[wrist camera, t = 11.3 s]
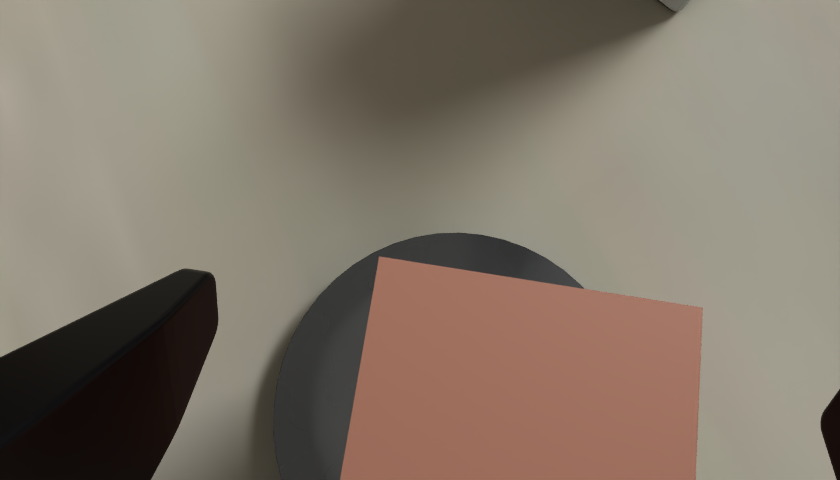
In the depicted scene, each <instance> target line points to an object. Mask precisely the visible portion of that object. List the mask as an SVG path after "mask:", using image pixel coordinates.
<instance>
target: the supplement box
mask: <svg viewBox="0 0 840 480" xmlns="http://www.w3.org/2000/svg"><path fill="white" fill-rule="evenodd" d="M659 1H660V2H662V3H663V4H665V5H666V6H667V7H668V8H670V9H671V10H673V11H680V10H682V9H683V8H684V7H685V6H686V4H687V3H688V2H689V1H690V0H659Z"/></svg>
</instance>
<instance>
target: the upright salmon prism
mask: <svg viewBox="0 0 840 480" xmlns="http://www.w3.org/2000/svg"><path fill="white" fill-rule="evenodd" d="M702 313H703V308H701V307H695V306H688V305H682V304H676V303H670V302H663V301H657V300H651V299H644V298H638V297H632V296H625V295H619V294H613V293H607V292H600V291H594V290H588V289H581V288H575V287H569V286H562V285H556V284H550V283H544V282H537V281H531V280H525V279H518V278H512V277H506V276H499V275H493V274H487V273H481V272H474V271H468V270H462V269H455V268H449V267H443V266H436V265H430V264H424V263H417V262H411V261H405V260H399V259H392V258H386V257H380V256H379V261H378V266H377V272H376V278H375V283H374V289H373V295H372V300H371V306H370V312H369V318H368V323H367V329H366V335H365V340H364V346H363V352H362V357H361V363H360V369H359V374H358V380H357V386H356V392H355V397H354V403H353V409H352V414H351V420H350V426H349V431H348V437H347V443H346V448H345V454H344V460H343V466H342V471H341V477H340V480H696V456H697V432H698V408H699V385H700V361H701V337H702Z"/></svg>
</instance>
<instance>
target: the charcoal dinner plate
mask: <svg viewBox="0 0 840 480" xmlns="http://www.w3.org/2000/svg"><path fill="white" fill-rule="evenodd" d="M379 256H380V257H386V258H392V259H399V260H405V261H411V262H417V263H424V264H430V265H436V266H443V267H449V268H455V269H462V270H468V271H474V272H481V273H487V274H493V275H499V276H506V277H512V278H518V279H525V280H531V281H537V282H544V283H550V284H556V285H562V286H569V287H575V288H581V289H584V288H583V287H582V286H581V285H580V284H579V283H578V282H577V281H576V280H575V279H573V278H572V277H571V276H570V275H569V274H568V273H566V272H565V271H564V270H563V269H561V268H560V267H558V266H557V265H555V264H554V263H552V262H551V261H549V260H548V259H546V258H545V257H543V256H541V255H539V254H537V253H535V252H533V251H531V250H529V249H527V248H525V247H522V246H520V245H517V244H514V243H511V242H509V241H506V240H503V239H498V238H494V237H489V236H485V235H478V234H467V233H440V234H432V235H426V236H420V237H414V238H411V239H408V240H404V241H401V242H397V243H394V244H392V245H389V246H387V247H385V248H383V249H380V250H378V251H376V252H374V253H372V254H370V255H369V256H367V257H365V258H364V259H362V260H360V261H359V262H357V263H355V264H354V265H352V266H351V267H350V268H349V269H347V270H346V271H345V272H344V273H342V274H341V275H340V276H339V277H337V278H336V279H335V280H334V281H333V282H332V283H331V284H330V285H329V286H328V287H327V288H326V289H325V290H324V291H323V292H322V294H321V295H320V296H319V297H318V298H317V300H316V301H315V302H314V304H313V305H312V306H311V308H310V309H309V310H308V312H307V313H306V314H305V316H304V318H303V319H302V321H301V323H300V325H299V326H298V328H297V330H296V332H295V333H294V335H293V337H292V340H291V342H290V345H289V347H288V349H287V352H286V354H285V357H284V360H283V363H282V367H281V371H280V374H279V378H278V382H277V388H276V395H275V403H274V441H275V449H276V458H277V462H278V466H279V470H280V474H281V478H282V480H340V477H341V471H342V466H343V460H344V454H345V448H346V443H347V437H348V431H349V426H350V420H351V414H352V409H353V403H354V397H355V392H356V386H357V380H358V374H359V369H360V363H361V357H362V352H363V346H364V340H365V335H366V329H367V323H368V318H369V312H370V306H371V300H372V295H373V289H374V283H375V278H376V272H377V266H378V261H379Z"/></svg>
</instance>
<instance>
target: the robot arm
mask: <svg viewBox="0 0 840 480" xmlns="http://www.w3.org/2000/svg"><path fill="white" fill-rule="evenodd" d="M217 326H218V307H217V293H216V282H215V278H214V276H213V275H212V274H211V273H210V272H206V271H200V270H193V269H181V270H179V271H176V272H174V273H172V274H170V275H168V276H166V277H164V278H162V279H160V280H158V281H156V282H154V283H152V284H150V285H148V286H146V287H144V288H142V289H140V290H137V291H135V292H133V293H131V294H129V295H127V296H125V297H123V298H121V299H119V300H117V301H115V302H113V303H111V304H109V305H107V306H105V307H103V308H101V309H99V310H96V311H94V312H92V313H90V314H88V315H86V316H84V317H82V318H80V319H78V320H76V321H74V322H72V323H70V324H68V325H66V326H64V327H62V328H60V329H57V330H55V331H53V332H51V333H49V334H47V335H45V336H43V337H41V338H39V339H37V340H35V341H33V342H31V343H29V344H27V345H25V346H23V347H21V348H18V349H16V350H14V351H12V352H10V353H8V354H6V355H4V356H2V357H0V480H151V478H152V477H153V475H154V473H155V471H156V469H157V467H158V465H159V463H160V462H161V460H162V458H163V456H164V454H165V452H166V450H167V449H168V447H169V445H170V443H171V441H172V439H173V437H174V435H175V433H176V431H177V429H178V427H179V424H180V422H181V420H182V417H183V415H184V413H185V410H186V407H187V405H188V402H189V400H190V397H191V395H192V392H193V390H194V387H195V385H196V382H197V380H198V377H199V375H200V372H201V370H202V367H203V365H204V362H205V359H206V357H207V354H208V352H209V349H210V347H211V344H212V342H213V339H214V337H215V334H216V331H217ZM821 431H822V435H823V438H824V441H825V444H826V447H827V450H828V454H829V457H830V460H831V463H832V466H833V470H834V473H835V476H836V479H837V480H840V389H839V391H838V392H837V394H836V395H835V396H834V398H833V399H832V400H831V402H830V403H829V405H828V406H827V407H826V409H825V410H824V412H823V414H822V417H821Z"/></svg>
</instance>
